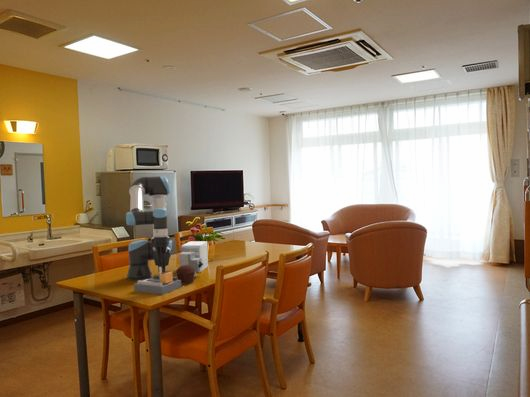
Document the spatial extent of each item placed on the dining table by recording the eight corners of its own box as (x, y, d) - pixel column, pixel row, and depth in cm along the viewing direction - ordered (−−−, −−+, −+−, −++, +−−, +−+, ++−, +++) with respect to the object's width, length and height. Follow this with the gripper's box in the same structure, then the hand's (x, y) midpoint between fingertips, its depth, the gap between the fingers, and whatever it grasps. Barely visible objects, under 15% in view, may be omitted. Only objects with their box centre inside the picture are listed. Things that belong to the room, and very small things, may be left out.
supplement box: (190, 266, 284) (189, 241, 283) (208, 266, 282) (207, 241, 281) (181, 272, 267) (180, 245, 266) (200, 272, 265) (199, 245, 264)
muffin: (180, 285, 232) (180, 268, 232) (173, 282, 241) (172, 265, 241) (199, 282, 239) (198, 265, 238) (191, 278, 248) (190, 262, 247)
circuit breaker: (200, 278, 249) (199, 254, 248) (178, 277, 252) (178, 254, 251) (204, 275, 256) (203, 252, 255) (183, 274, 259) (182, 251, 258)
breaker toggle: (159, 282, 222) (159, 272, 221) (167, 280, 227) (166, 270, 227) (165, 283, 220) (165, 273, 220) (172, 280, 225) (172, 270, 225)
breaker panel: (134, 291, 223) (133, 281, 223) (153, 284, 238) (153, 274, 238) (162, 294, 215) (162, 284, 215) (181, 286, 229) (180, 277, 229)
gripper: (147, 236, 223) (148, 278, 224) (165, 237, 217) (167, 280, 218) (156, 234, 230) (157, 275, 231) (174, 235, 224) (175, 277, 225)
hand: (162, 278), depth 224 cm, fingers closed
